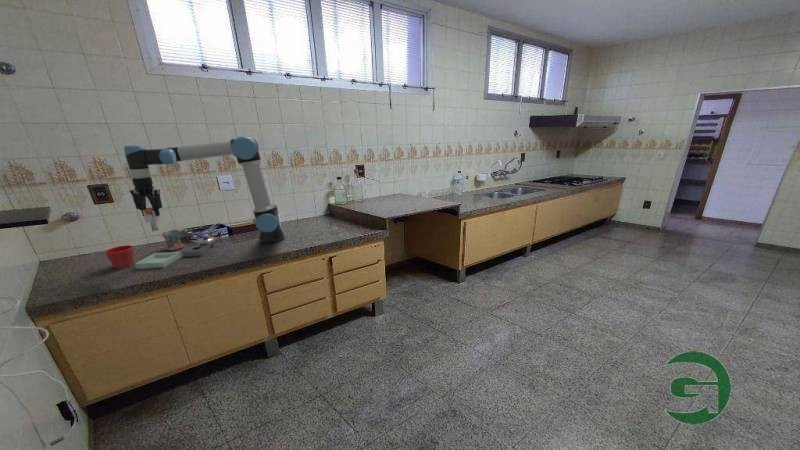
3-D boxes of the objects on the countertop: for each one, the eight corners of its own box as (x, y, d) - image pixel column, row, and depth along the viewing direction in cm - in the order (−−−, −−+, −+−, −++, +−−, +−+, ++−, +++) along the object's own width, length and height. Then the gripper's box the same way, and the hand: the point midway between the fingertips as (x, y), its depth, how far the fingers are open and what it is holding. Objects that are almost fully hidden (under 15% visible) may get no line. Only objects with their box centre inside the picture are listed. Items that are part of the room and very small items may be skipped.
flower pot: (123, 261, 164) (118, 245, 161) (142, 261, 164) (137, 244, 161) (104, 270, 154) (98, 252, 151) (125, 270, 154) (119, 252, 151)
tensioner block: (219, 243, 187) (217, 233, 185) (201, 256, 169) (198, 245, 167) (203, 244, 187) (201, 234, 185) (183, 256, 168) (180, 246, 166)
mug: (182, 250, 179) (178, 233, 176) (163, 252, 175) (159, 235, 172) (186, 243, 189) (182, 227, 186) (169, 246, 186) (164, 230, 182)
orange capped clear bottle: (162, 228, 160) (156, 207, 156) (156, 231, 156) (150, 209, 152) (154, 229, 159) (148, 207, 156) (148, 231, 156) (142, 209, 152)
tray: (181, 257, 168) (180, 252, 168) (164, 267, 155) (162, 262, 154) (156, 258, 168) (154, 253, 167) (136, 268, 155) (134, 263, 154)
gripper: (164, 176, 153) (174, 219, 160) (130, 176, 153) (142, 220, 160) (153, 178, 146) (164, 223, 153) (117, 178, 145) (130, 224, 152)
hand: (153, 221), depth 156 cm, fingers closed on orange capped clear bottle, 4 cm apart
